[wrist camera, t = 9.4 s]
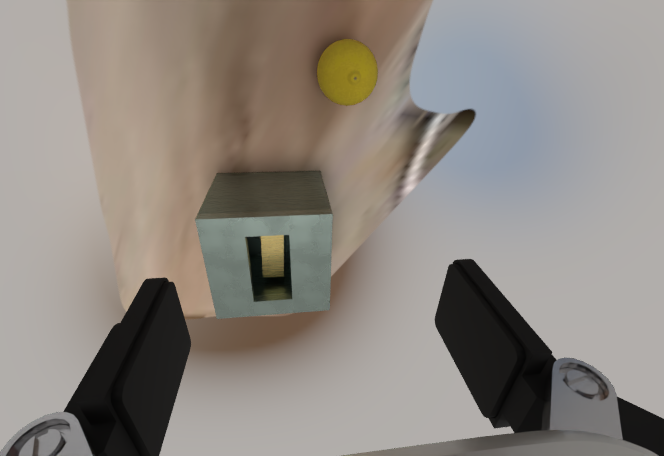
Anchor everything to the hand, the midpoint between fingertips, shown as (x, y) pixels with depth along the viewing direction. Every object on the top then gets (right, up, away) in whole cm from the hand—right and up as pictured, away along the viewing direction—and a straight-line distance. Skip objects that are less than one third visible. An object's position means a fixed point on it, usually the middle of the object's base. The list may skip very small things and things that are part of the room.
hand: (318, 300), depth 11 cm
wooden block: (-7, -2, +29) cm, 30 cm away
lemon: (+1, +19, +22) cm, 29 cm away
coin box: (-7, +4, +30) cm, 31 cm away
